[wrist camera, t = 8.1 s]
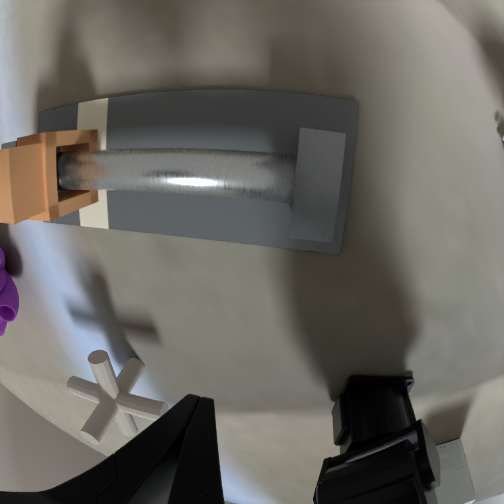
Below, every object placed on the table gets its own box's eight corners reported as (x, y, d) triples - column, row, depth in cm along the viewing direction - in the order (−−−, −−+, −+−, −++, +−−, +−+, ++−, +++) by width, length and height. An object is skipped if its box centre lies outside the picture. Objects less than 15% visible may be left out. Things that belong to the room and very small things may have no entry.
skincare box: (418, 449, 27) (431, 515, 17) (460, 436, 25) (479, 497, 16) (402, 480, 30) (409, 535, 20) (439, 470, 29) (450, 522, 19)
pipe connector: (84, 315, 25) (22, 377, 16) (175, 331, 24) (123, 419, 15) (110, 387, 29) (68, 448, 20) (189, 406, 28) (158, 483, 18)
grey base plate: (357, 102, 16) (358, 101, 16) (339, 252, 20) (339, 254, 19) (42, 111, 19) (39, 112, 18) (46, 220, 22) (43, 222, 22)
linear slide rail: (331, 136, 17) (345, 133, 12) (322, 215, 18) (332, 242, 13) (49, 137, 19) (1, 144, 14) (50, 195, 21) (5, 211, 16)
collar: (97, 129, 17) (12, 135, 10) (98, 201, 19) (19, 235, 12) (68, 133, 18) (-14, 142, 10) (69, 200, 19) (-7, 231, 12)
